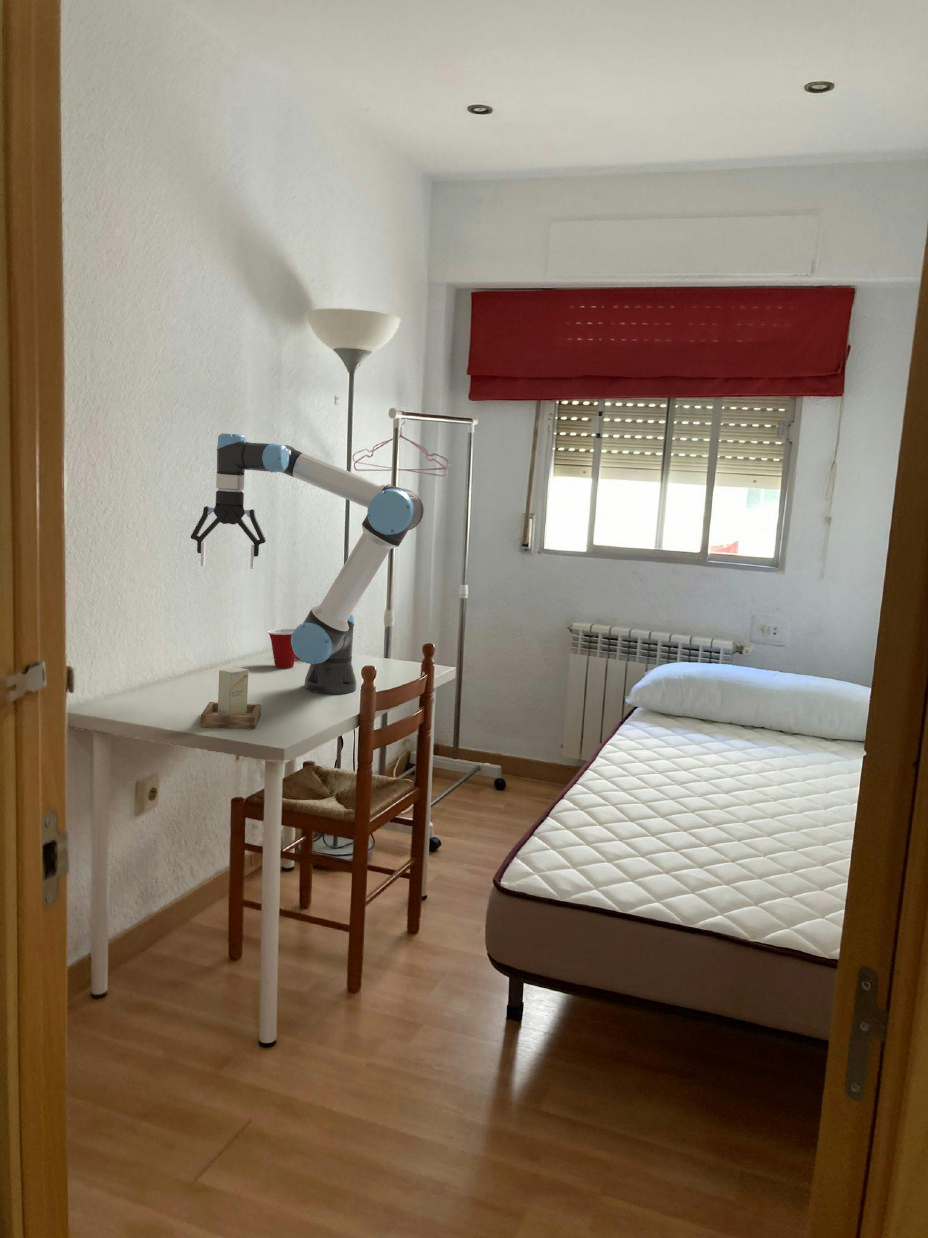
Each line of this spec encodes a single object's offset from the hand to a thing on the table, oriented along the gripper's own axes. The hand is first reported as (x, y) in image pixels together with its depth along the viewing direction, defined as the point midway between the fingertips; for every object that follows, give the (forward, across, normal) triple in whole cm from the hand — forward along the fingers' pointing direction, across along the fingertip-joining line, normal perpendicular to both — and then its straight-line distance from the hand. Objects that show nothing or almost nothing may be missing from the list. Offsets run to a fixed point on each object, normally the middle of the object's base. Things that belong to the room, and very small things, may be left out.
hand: (227, 566), depth 265 cm
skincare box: (+34, -7, +35) cm, 49 cm away
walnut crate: (+35, -7, +35) cm, 50 cm away
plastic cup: (+35, -14, -32) cm, 49 cm away
